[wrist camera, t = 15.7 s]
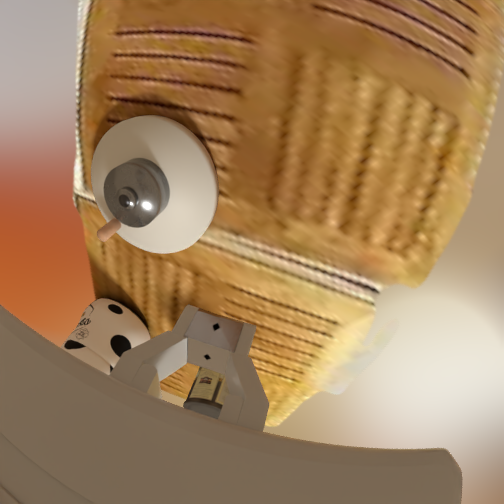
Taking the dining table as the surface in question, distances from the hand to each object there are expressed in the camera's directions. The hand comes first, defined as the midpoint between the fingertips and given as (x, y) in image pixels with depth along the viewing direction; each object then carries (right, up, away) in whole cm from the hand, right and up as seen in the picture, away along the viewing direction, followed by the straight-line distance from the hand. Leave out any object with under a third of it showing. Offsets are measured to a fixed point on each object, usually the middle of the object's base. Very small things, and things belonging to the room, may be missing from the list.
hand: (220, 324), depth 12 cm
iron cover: (-14, +12, +26) cm, 32 cm away
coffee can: (-4, -21, +48) cm, 53 cm away
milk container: (-29, -13, +50) cm, 59 cm away
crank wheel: (-13, +13, +28) cm, 34 cm away
